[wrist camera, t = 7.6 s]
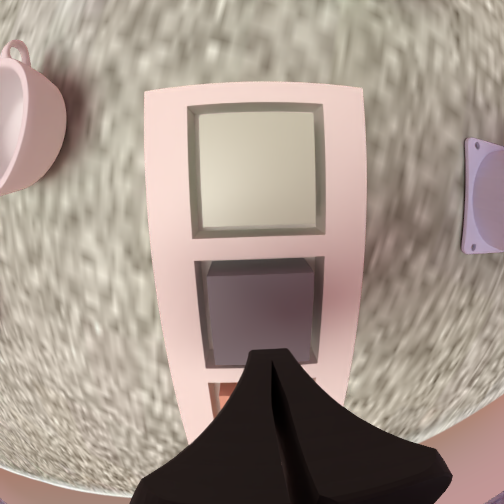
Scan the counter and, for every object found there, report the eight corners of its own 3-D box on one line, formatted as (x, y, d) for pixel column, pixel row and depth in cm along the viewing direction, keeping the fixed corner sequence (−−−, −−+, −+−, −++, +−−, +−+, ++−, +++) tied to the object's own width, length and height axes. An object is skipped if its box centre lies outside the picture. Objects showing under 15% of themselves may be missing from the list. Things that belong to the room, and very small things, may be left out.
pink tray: (342, 101, 14) (362, 88, 12) (325, 418, 20) (333, 445, 17) (161, 105, 14) (144, 91, 11) (196, 424, 20) (191, 452, 17)
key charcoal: (303, 257, 16) (314, 272, 13) (301, 336, 17) (309, 360, 14) (212, 261, 15) (206, 276, 13) (218, 340, 17) (215, 365, 14)
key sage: (302, 123, 14) (313, 113, 11) (304, 215, 15) (315, 223, 13) (206, 125, 14) (198, 115, 11) (209, 218, 15) (203, 227, 13)
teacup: (85, 183, 15) (29, 189, 10) (4, 200, 15) (-48, 212, 10) (89, 36, 13) (47, 3, 8) (8, 72, 13) (-38, 58, 7)
